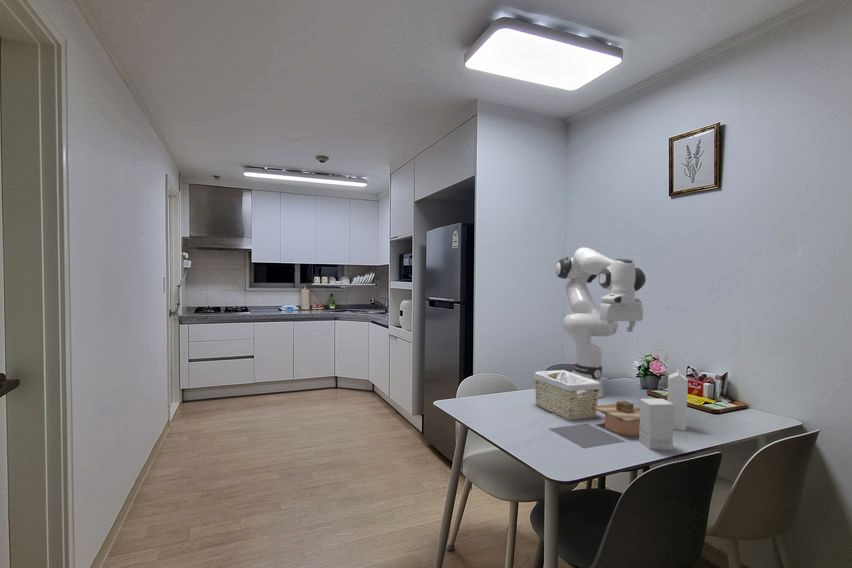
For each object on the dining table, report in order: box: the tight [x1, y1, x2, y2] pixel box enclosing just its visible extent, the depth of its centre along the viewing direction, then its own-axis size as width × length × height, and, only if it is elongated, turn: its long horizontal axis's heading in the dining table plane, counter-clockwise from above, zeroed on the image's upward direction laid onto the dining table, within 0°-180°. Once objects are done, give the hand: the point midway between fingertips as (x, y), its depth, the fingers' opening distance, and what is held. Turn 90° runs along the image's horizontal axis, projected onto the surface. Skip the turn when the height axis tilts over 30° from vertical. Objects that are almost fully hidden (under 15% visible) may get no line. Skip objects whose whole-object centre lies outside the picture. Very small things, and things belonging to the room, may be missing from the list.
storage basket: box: [533, 369, 600, 420], centre depth 174 cm, size 24×16×15 cm
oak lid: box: [592, 400, 640, 423], centre depth 154 cm, size 16×16×4 cm
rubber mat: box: [548, 423, 626, 449], centre depth 146 cm, size 18×18×1 cm
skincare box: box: [638, 398, 674, 450], centre depth 138 cm, size 8×7×16 cm
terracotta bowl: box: [604, 414, 640, 436], centre depth 154 cm, size 13×13×6 cm
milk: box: [666, 368, 689, 432], centre depth 159 cm, size 6×6×22 cm
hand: (621, 332), depth 171 cm, fingers open, 8 cm apart
